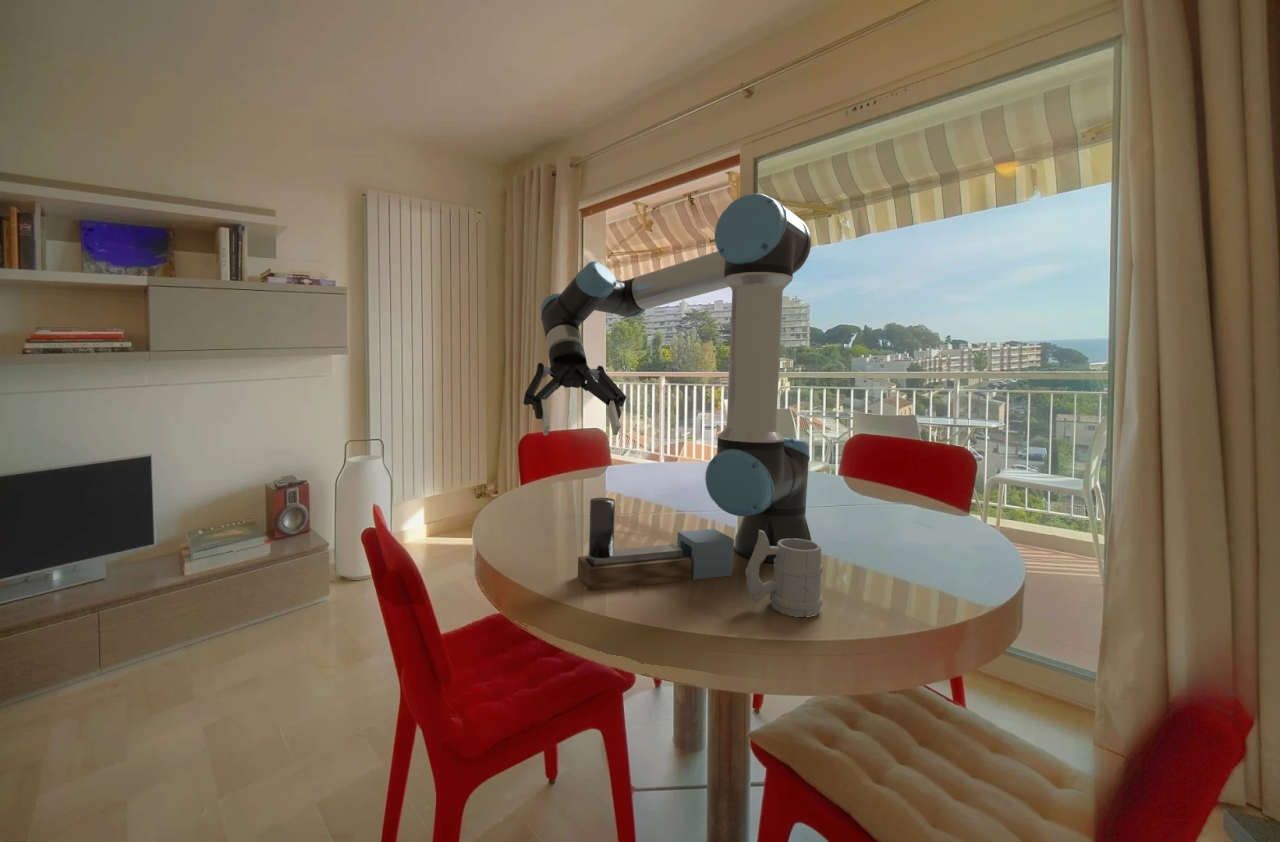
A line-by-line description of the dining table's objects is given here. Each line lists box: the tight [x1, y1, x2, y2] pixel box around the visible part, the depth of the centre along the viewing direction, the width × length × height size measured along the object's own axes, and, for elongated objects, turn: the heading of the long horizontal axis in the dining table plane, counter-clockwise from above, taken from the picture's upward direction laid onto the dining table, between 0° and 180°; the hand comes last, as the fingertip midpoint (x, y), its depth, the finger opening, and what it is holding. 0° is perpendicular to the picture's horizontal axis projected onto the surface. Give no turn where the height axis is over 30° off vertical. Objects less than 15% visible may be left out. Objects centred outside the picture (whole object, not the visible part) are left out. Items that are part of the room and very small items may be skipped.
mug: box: [745, 530, 824, 618], centre depth 83 cm, size 8×12×12 cm, turn 98°
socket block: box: [676, 528, 735, 581], centre depth 99 cm, size 8×7×6 cm
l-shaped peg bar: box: [588, 497, 683, 566], centre depth 94 cm, size 16×4×12 cm, turn 112°
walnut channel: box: [577, 555, 692, 592], centre depth 94 cm, size 18×6×4 cm, turn 112°
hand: (582, 430), depth 105 cm, fingers open, 13 cm apart
